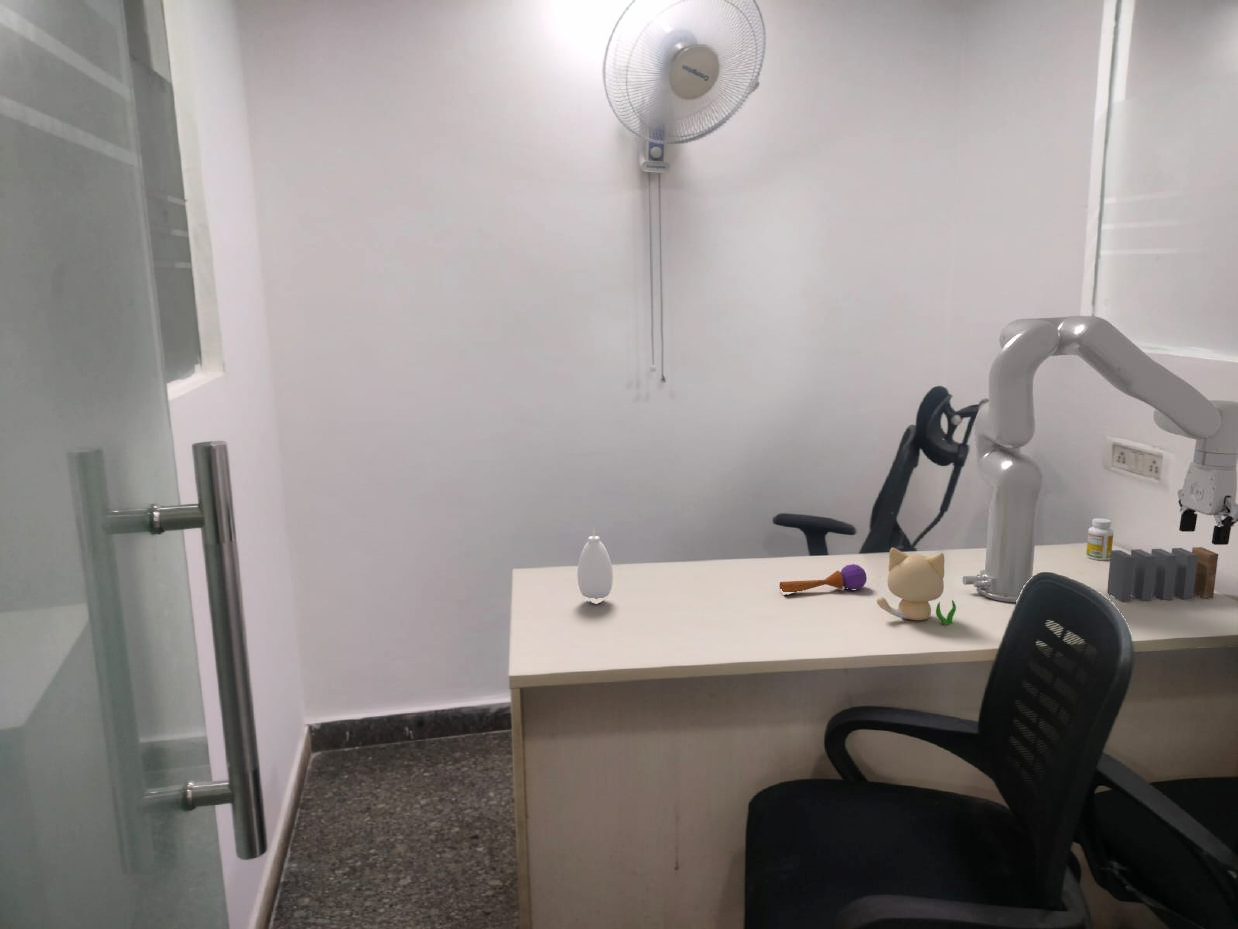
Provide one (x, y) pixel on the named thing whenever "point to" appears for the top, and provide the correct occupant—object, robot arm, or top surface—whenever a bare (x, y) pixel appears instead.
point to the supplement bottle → (1100, 540)
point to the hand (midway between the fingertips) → (1202, 537)
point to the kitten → (916, 585)
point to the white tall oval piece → (595, 569)
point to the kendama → (831, 580)
